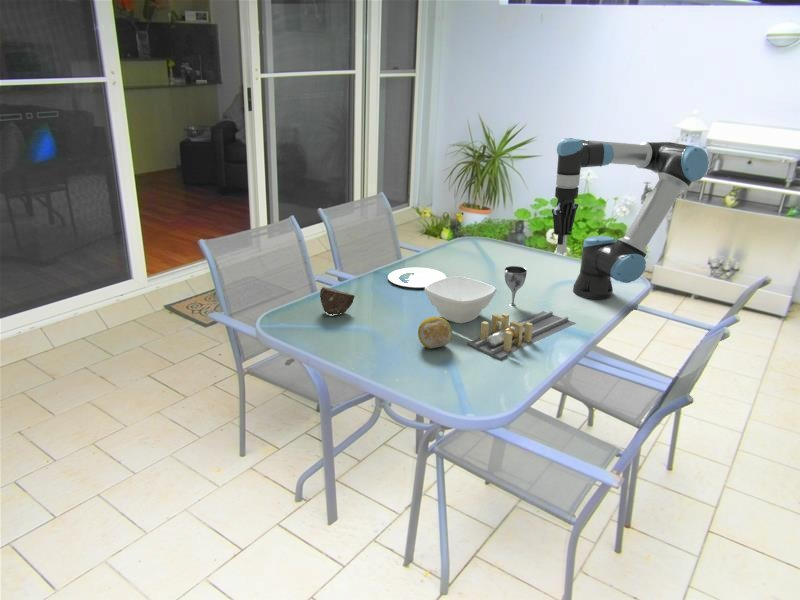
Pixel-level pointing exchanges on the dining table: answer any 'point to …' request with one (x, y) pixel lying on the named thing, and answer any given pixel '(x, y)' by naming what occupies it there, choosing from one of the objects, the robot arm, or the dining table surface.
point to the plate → (416, 277)
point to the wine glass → (515, 279)
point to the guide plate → (534, 331)
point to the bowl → (459, 297)
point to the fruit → (434, 332)
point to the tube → (501, 336)
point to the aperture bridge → (517, 326)
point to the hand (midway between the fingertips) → (561, 252)
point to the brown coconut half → (335, 300)
